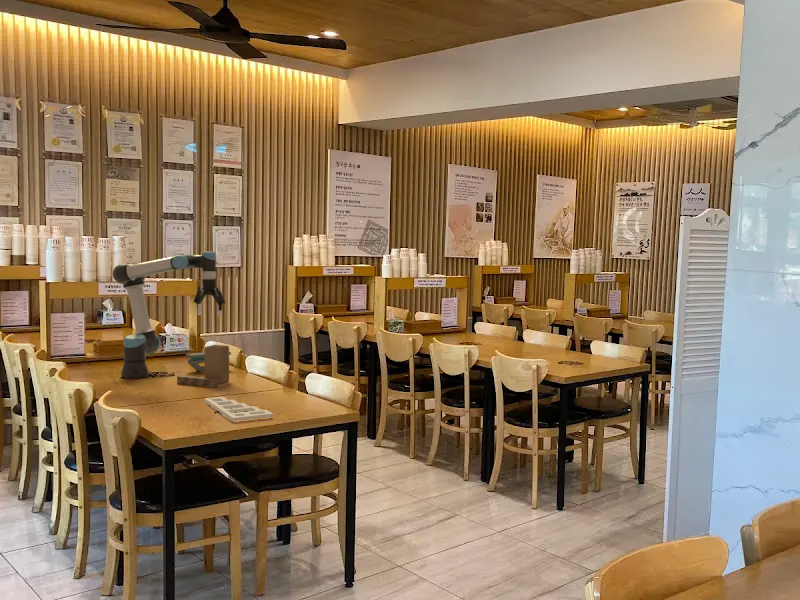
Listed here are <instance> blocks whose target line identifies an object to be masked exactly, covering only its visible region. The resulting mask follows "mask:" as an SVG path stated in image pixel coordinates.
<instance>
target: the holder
mask: <svg viewBox="0 0 800 600" xmlns="http://www.w3.org/2000/svg"><path fill="white" fill-rule="evenodd" d="M205 402H206V403H207V404H209V405H210V406H212V407H213V408H214V409H216V410H217V411H219V412H220V413H222V414H223V415H225V416H226V417H228V418H229V419H231V420H232V421H237V420H247V419H256V418H267V417H273V418H274V413H273V412H271V411H269V410H268V409H260V408H259V407H257V406H255V405H253V406H252V405H251V406H249V405H248V404H247V403H244V402H241V403H240V402H238V401H236V400H235V399H227V398H226V397H224V396H217V397H207V398H204V403H205ZM207 404H206V405H207ZM210 406H209V407H210ZM231 408H232V409H231ZM214 409H213V410H214ZM217 411H216V412H217ZM244 411H248V412H244ZM235 412H238V413H235ZM220 413H219V414H220Z"/></svg>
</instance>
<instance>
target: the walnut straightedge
mask: <svg viewBox="0 0 800 600" xmlns="http://www.w3.org/2000/svg"><path fill="white" fill-rule="evenodd" d="M176 379H177V380H176V381H177V382H176V383H179V384H178V385H185V384H187V386H194V385H198V386H197V387H203V386H209V387H208V388H213V387H216V388H219V387H218V386H219V380H218V379H210V378H205V377H198V376H188V375H178V376H176Z"/></svg>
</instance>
